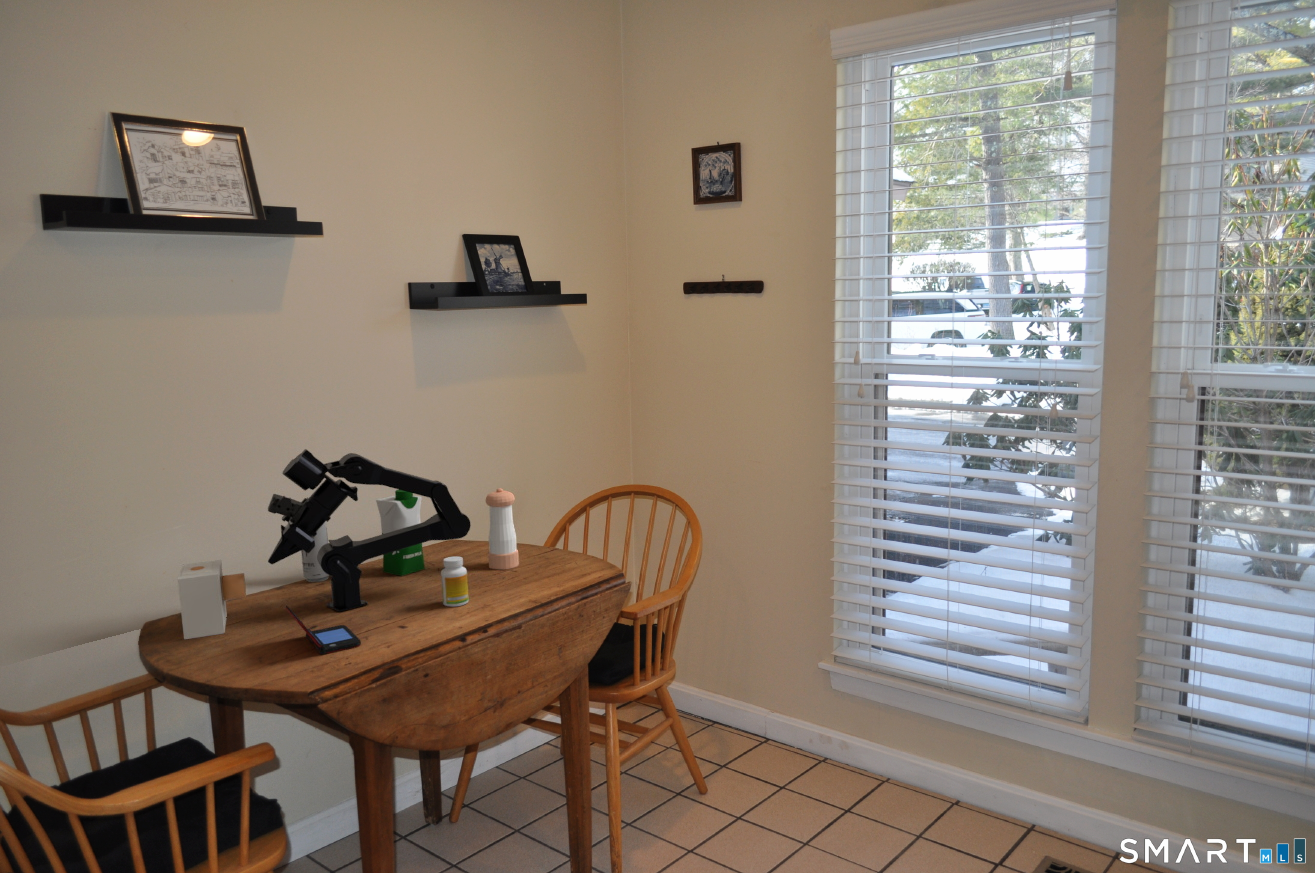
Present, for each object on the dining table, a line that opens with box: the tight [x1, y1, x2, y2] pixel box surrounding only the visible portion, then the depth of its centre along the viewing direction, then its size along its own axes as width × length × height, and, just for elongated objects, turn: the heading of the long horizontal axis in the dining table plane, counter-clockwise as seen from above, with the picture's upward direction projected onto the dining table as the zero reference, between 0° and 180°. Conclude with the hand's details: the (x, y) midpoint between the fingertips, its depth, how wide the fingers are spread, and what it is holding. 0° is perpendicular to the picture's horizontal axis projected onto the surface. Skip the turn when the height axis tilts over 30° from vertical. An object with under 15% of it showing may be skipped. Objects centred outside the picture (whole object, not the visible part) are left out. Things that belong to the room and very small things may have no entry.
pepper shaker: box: [485, 487, 520, 570], centre depth 215 cm, size 7×7×19 cm
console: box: [177, 559, 228, 640], centre depth 178 cm, size 7×12×12 cm, turn 24°
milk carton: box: [375, 489, 426, 577], centre depth 214 cm, size 9×9×20 cm
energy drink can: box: [300, 521, 330, 583], centre depth 209 cm, size 6×6×15 cm
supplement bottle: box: [440, 556, 470, 608], centre depth 188 cm, size 5×5×10 cm
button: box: [222, 572, 247, 602], centre depth 180 cm, size 4×5×5 cm
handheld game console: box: [285, 605, 362, 656], centre depth 167 cm, size 12×11×7 cm
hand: (269, 562), depth 182 cm, fingers closed
